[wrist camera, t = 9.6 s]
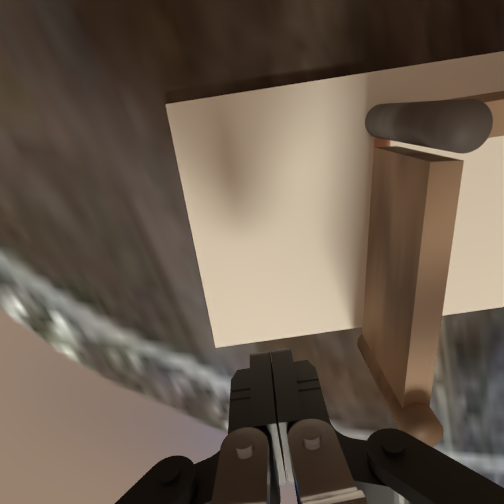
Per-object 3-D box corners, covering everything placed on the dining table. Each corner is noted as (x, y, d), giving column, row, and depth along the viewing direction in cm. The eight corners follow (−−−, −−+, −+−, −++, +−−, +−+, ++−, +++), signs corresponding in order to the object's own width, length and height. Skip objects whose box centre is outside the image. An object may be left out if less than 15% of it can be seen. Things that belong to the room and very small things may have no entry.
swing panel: (369, 147, 17) (436, 165, 11) (402, 146, 17) (486, 163, 11) (356, 354, 20) (402, 450, 14) (384, 353, 20) (441, 448, 14)
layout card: (664, 26, 16) (675, 24, 16) (615, 291, 20) (622, 295, 20) (166, 104, 17) (165, 104, 16) (217, 348, 21) (216, 353, 21)
